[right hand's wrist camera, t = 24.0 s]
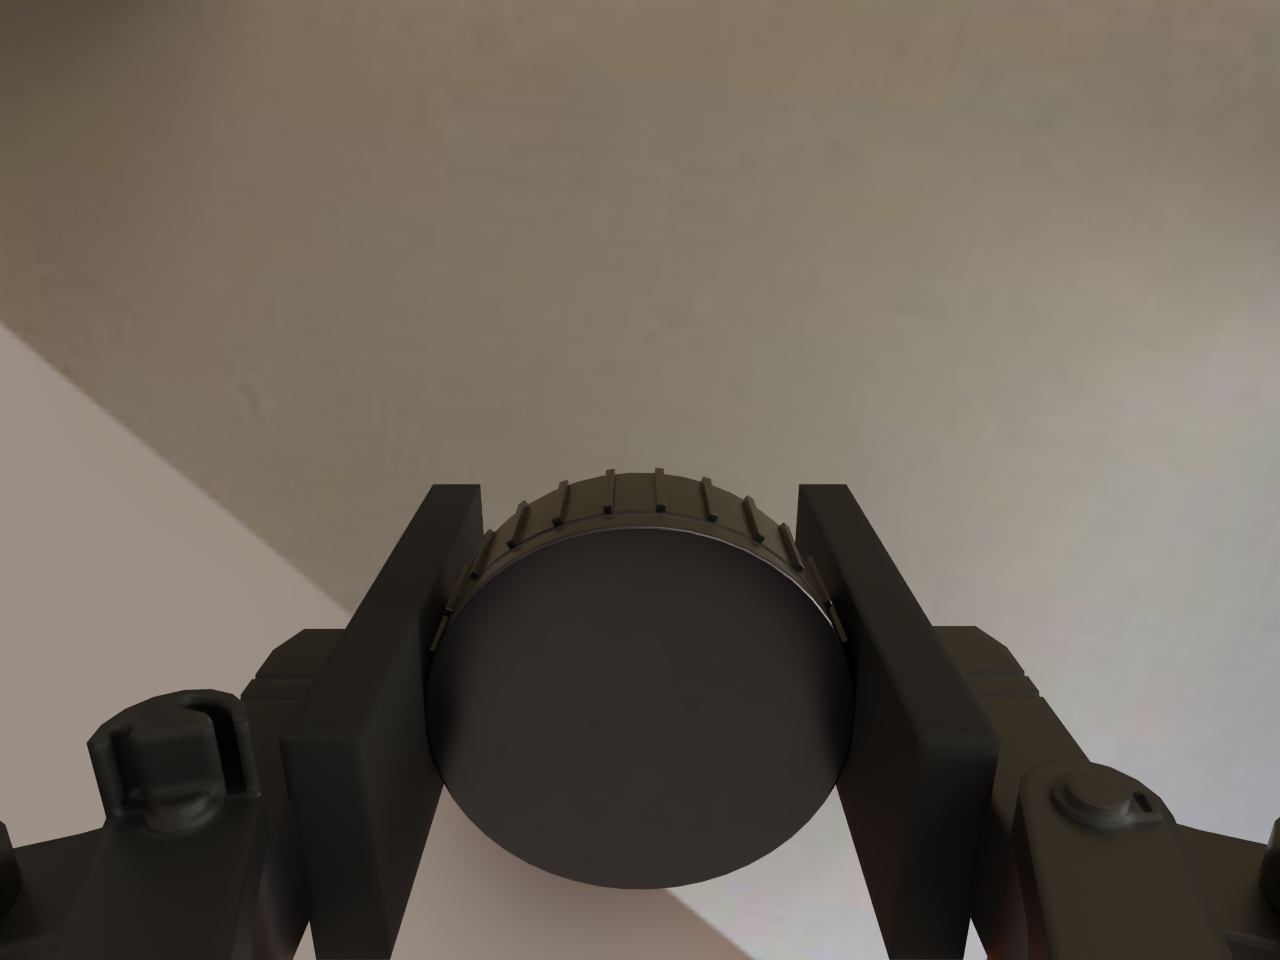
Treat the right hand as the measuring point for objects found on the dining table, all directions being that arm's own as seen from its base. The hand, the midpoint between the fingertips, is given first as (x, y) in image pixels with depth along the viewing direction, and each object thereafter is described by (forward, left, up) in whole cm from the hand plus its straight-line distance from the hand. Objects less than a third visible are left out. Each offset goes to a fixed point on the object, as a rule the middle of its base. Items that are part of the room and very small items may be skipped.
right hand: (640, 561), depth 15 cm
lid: (0, 0, +4) cm, 4 cm away
